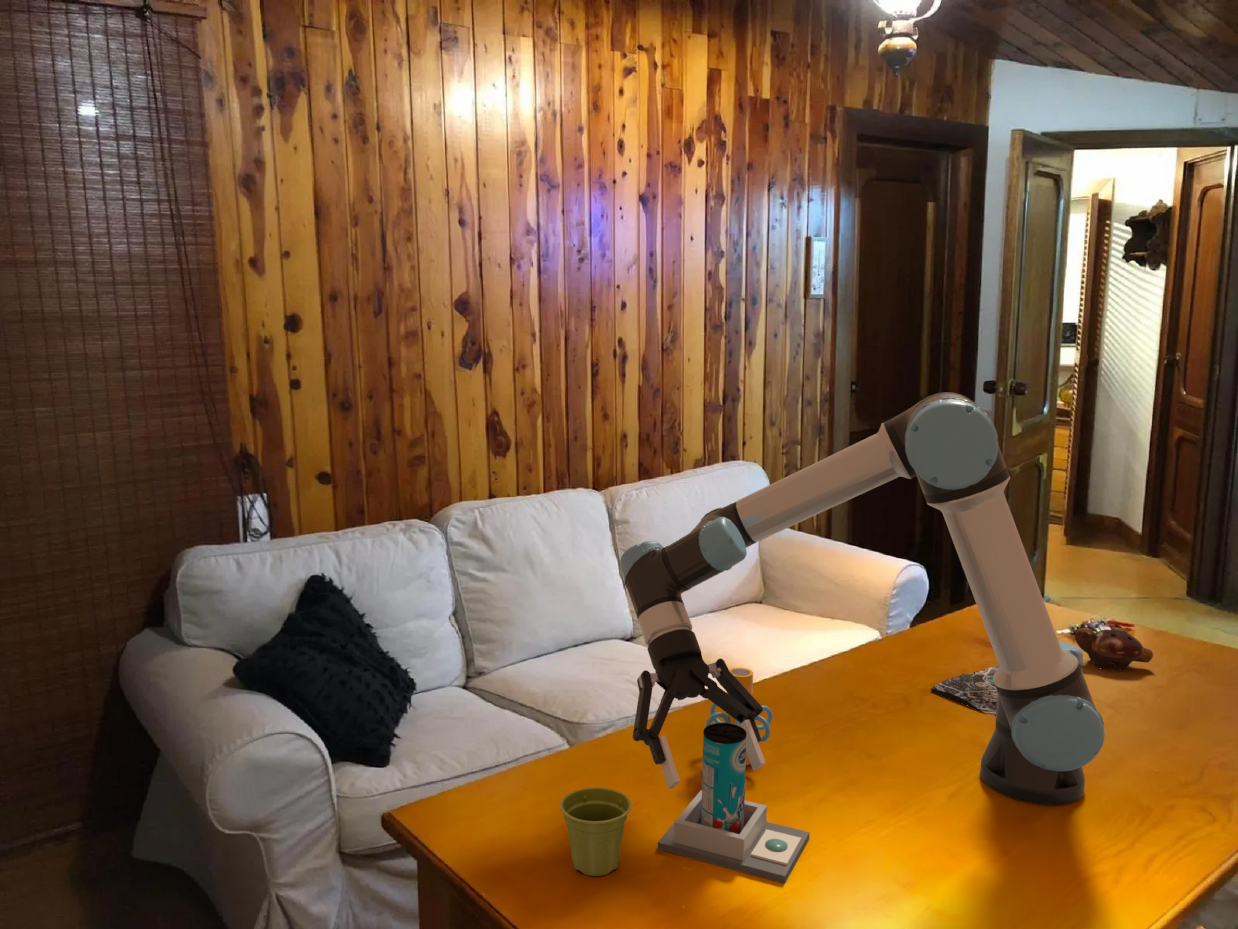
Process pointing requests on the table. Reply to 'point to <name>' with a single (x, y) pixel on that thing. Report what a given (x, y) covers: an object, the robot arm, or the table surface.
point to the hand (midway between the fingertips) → (717, 776)
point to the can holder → (737, 842)
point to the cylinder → (747, 681)
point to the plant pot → (595, 828)
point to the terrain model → (972, 690)
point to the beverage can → (723, 777)
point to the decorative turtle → (1112, 648)
